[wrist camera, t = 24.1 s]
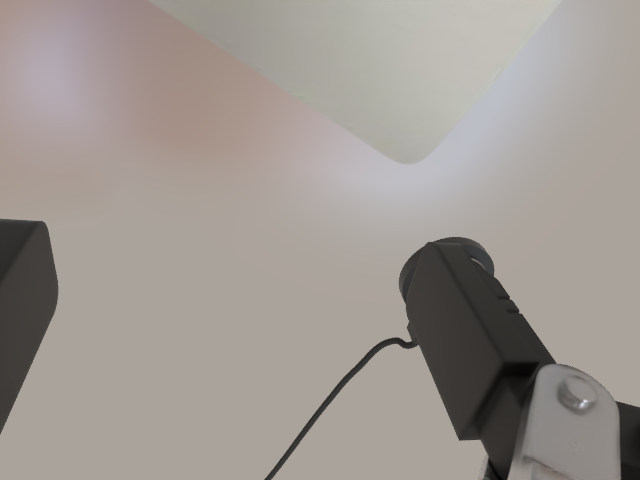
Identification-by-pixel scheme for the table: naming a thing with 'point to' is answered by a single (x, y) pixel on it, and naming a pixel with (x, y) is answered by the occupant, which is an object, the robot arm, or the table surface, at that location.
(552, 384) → the robot arm
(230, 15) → the table surface
